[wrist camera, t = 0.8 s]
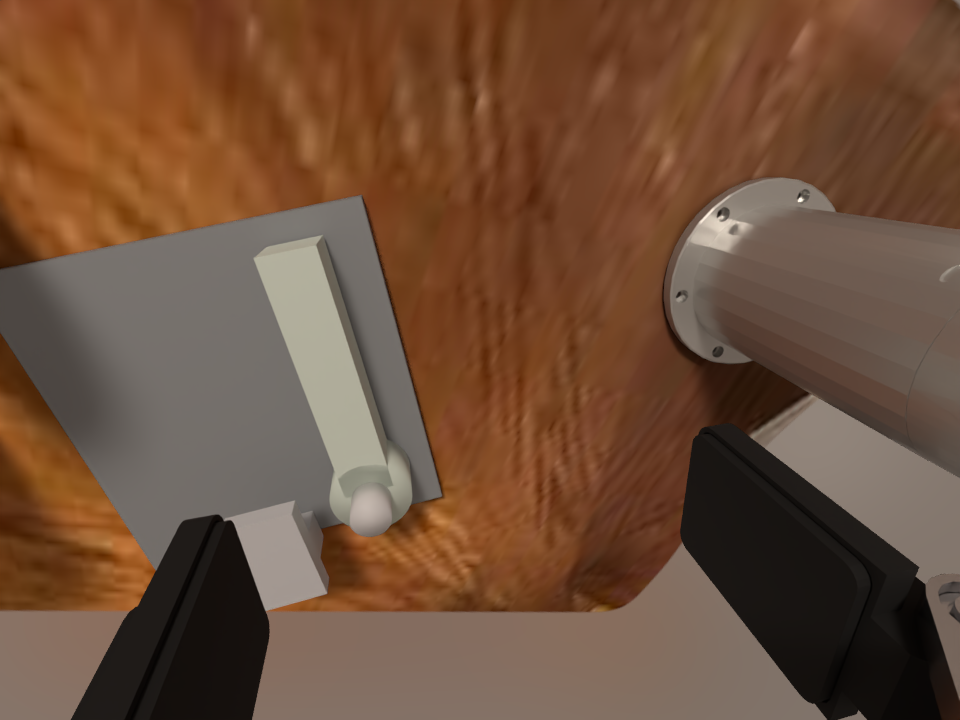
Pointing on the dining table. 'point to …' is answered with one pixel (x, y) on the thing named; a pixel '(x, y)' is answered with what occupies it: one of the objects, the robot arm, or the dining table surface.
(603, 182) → the dining table surface
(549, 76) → the dining table surface
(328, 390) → the link
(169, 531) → the board
